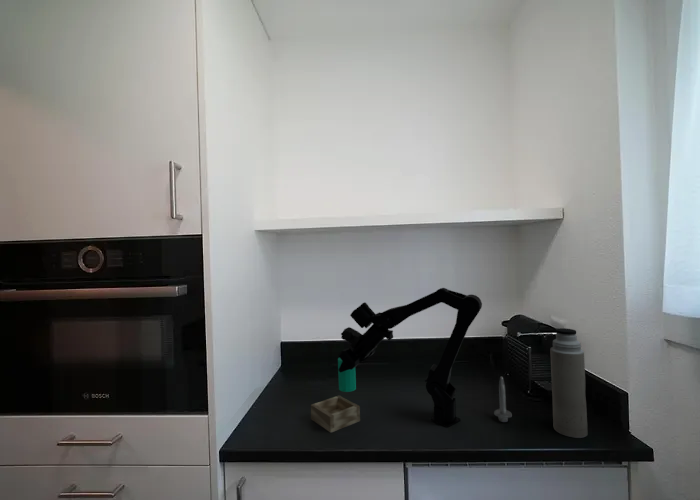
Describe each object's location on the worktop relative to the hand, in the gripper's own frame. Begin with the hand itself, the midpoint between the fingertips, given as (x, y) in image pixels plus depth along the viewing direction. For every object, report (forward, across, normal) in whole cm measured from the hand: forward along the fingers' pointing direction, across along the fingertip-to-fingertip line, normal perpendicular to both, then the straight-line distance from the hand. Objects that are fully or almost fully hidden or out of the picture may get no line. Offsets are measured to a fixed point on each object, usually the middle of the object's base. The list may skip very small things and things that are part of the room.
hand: (343, 368), depth 119 cm
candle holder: (+6, +12, +10) cm, 17 cm away
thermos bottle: (-38, -7, +56) cm, 68 cm away
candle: (+4, 0, +6) cm, 7 cm away
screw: (-26, -6, +44) cm, 52 cm away
